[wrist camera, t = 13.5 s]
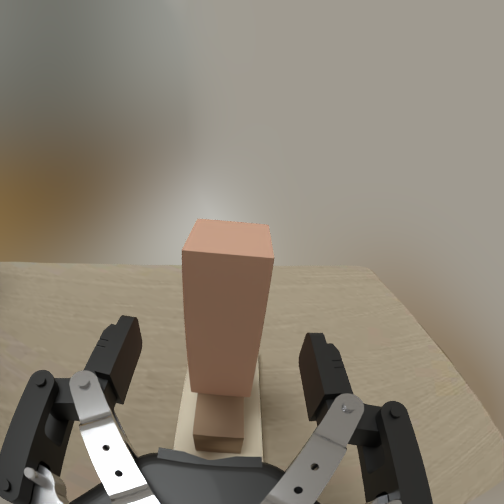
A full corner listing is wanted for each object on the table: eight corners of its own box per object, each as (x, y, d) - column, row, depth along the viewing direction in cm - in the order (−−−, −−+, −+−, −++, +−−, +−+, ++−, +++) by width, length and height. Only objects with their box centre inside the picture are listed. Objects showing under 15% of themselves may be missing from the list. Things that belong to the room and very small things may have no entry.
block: (190, 392, 18) (181, 250, 13) (198, 350, 22) (197, 218, 17) (250, 397, 19) (274, 258, 13) (250, 355, 23) (268, 224, 17)
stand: (174, 463, 16) (165, 442, 14) (193, 348, 29) (191, 315, 27) (260, 469, 17) (270, 450, 14) (255, 353, 29) (261, 320, 27)
